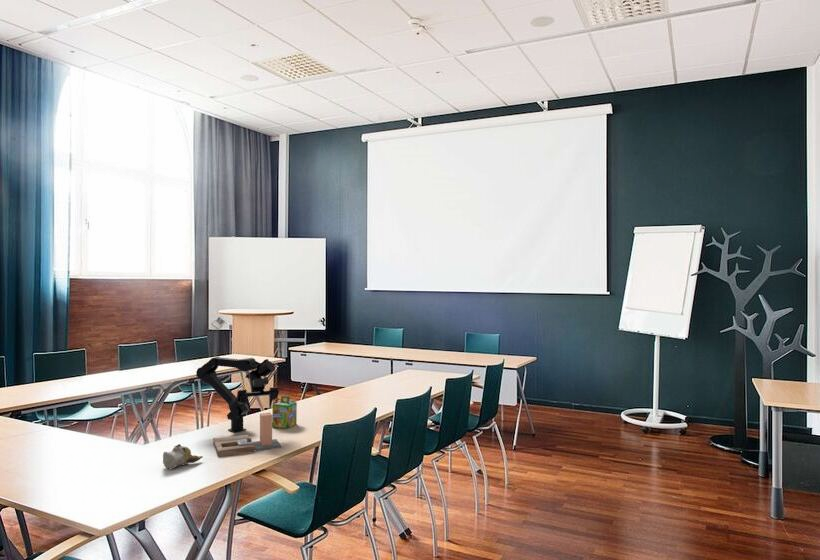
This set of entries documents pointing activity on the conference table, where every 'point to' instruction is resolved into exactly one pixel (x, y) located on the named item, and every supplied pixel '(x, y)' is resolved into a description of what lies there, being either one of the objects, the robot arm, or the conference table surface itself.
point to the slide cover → (244, 442)
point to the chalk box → (284, 413)
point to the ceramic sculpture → (179, 457)
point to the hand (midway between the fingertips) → (260, 409)
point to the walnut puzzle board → (231, 446)
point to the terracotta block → (266, 429)
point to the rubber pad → (274, 445)
